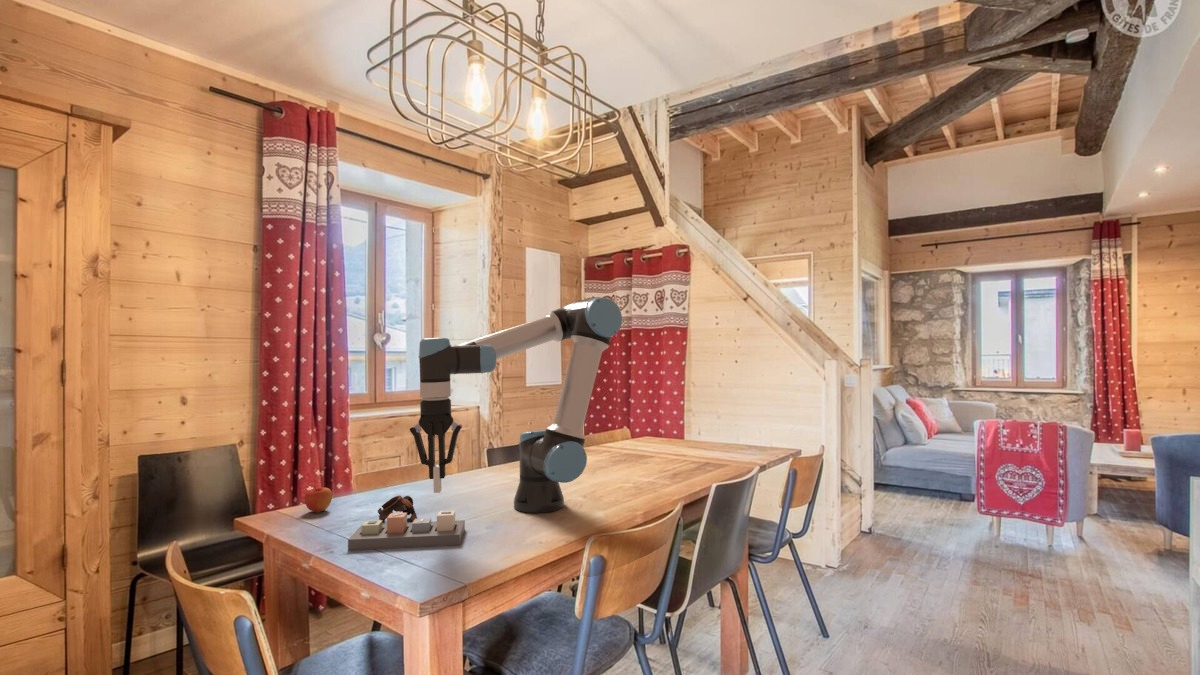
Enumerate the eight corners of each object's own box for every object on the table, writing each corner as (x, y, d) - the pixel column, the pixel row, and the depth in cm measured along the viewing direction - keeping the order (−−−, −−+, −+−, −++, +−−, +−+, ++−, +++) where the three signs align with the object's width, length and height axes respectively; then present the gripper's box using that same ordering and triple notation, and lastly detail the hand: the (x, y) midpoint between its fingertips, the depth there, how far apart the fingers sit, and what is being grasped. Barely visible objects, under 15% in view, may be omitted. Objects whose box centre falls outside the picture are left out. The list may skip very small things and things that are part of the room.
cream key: (455, 526, 148) (455, 509, 148) (453, 531, 144) (453, 514, 144) (439, 527, 147) (439, 510, 147) (436, 531, 143) (436, 514, 143)
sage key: (382, 536, 145) (382, 519, 146) (378, 541, 141) (378, 524, 142) (366, 536, 145) (366, 520, 145) (361, 542, 141) (361, 524, 141)
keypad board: (464, 529, 152) (464, 520, 152) (459, 544, 140) (459, 534, 140) (362, 534, 149) (362, 524, 149) (347, 550, 137) (348, 539, 137)
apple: (337, 508, 173) (337, 482, 173) (321, 515, 166) (321, 487, 166) (315, 507, 174) (315, 481, 174) (298, 514, 167) (298, 487, 167)
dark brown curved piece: (413, 529, 155) (397, 504, 153) (384, 543, 156) (367, 518, 154) (428, 505, 166) (413, 482, 165) (401, 519, 168) (385, 496, 166)
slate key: (431, 533, 147) (431, 517, 147) (428, 538, 143) (428, 522, 143) (415, 534, 146) (415, 518, 147) (412, 539, 142) (412, 522, 143)
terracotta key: (407, 528, 146) (407, 511, 146) (403, 533, 142) (403, 516, 142) (390, 529, 146) (390, 512, 146) (386, 534, 142) (386, 516, 142)
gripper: (463, 396, 151) (465, 486, 150) (412, 398, 149) (414, 489, 149) (459, 399, 143) (461, 493, 143) (405, 400, 142) (407, 496, 141)
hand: (437, 491), depth 146 cm, fingers closed
